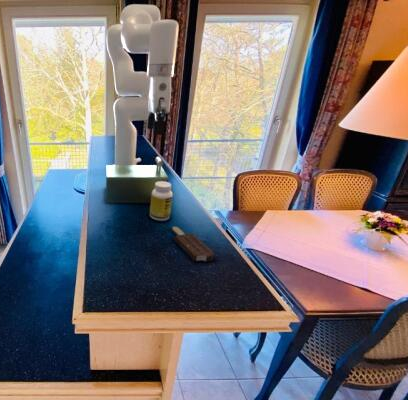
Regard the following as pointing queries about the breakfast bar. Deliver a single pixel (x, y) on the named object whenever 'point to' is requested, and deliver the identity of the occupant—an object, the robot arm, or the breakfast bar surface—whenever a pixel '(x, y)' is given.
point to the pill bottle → (161, 201)
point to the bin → (130, 190)
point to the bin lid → (136, 171)
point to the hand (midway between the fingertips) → (155, 131)
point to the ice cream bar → (193, 246)
